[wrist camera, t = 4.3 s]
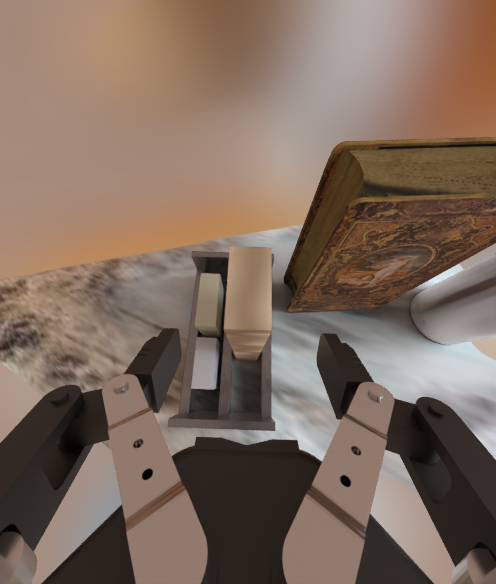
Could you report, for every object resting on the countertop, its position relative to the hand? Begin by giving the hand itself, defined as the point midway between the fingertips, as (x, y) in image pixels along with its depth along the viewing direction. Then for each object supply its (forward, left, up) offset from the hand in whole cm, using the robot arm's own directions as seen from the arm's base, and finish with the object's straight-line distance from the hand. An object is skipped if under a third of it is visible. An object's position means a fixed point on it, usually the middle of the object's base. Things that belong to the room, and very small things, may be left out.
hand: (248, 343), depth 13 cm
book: (-14, -12, -23) cm, 30 cm away
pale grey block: (+5, 0, -23) cm, 24 cm away
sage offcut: (+5, -8, -23) cm, 25 cm away
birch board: (0, -4, -23) cm, 23 cm away
